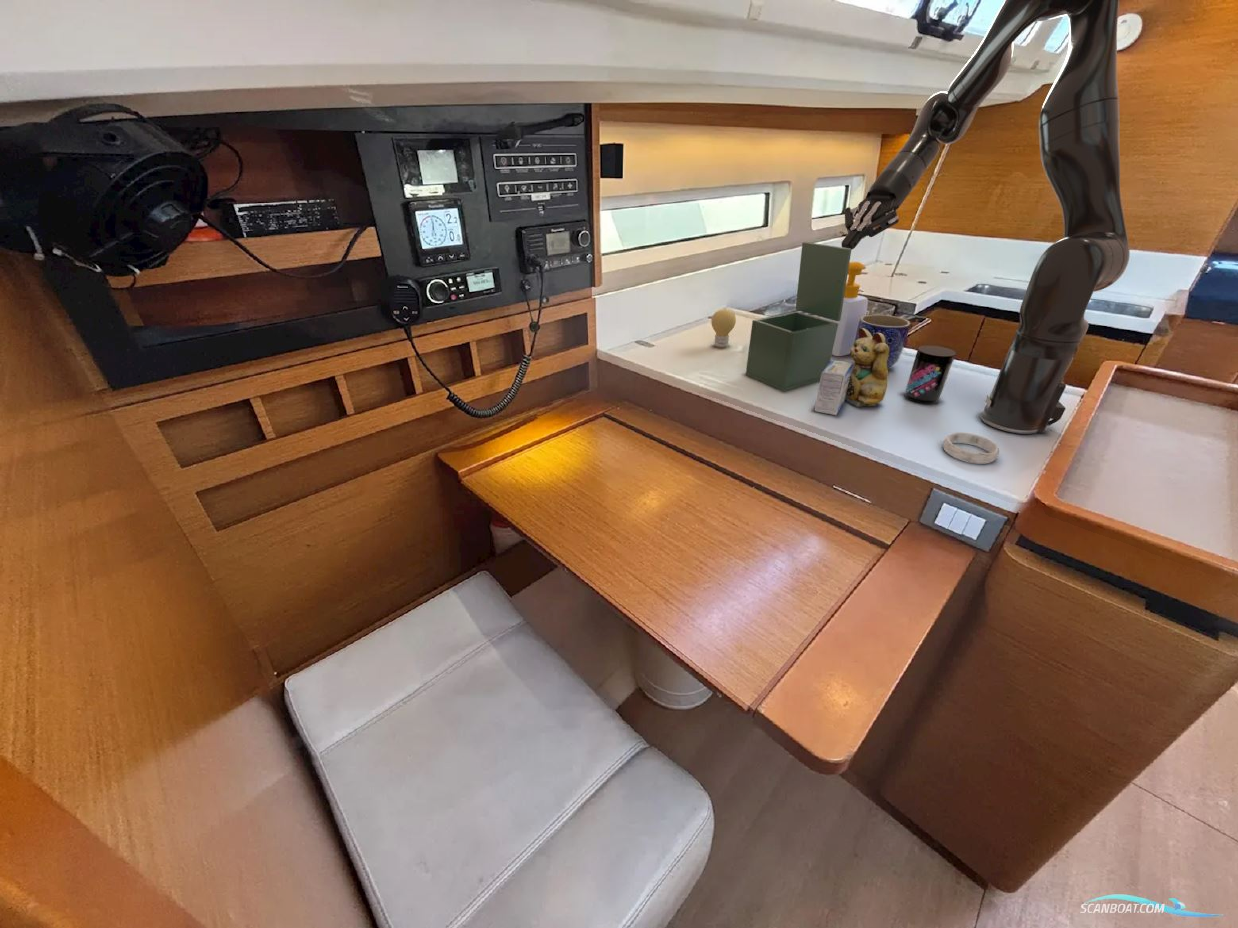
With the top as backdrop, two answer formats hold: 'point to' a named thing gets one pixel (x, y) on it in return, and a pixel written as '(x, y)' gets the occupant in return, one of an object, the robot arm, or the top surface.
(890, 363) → the planter
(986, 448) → the ring
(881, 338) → the decorative figurine
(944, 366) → the supplement container
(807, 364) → the tin
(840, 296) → the green square lid
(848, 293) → the soap bottle
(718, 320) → the light bulb
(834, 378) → the medicine box
